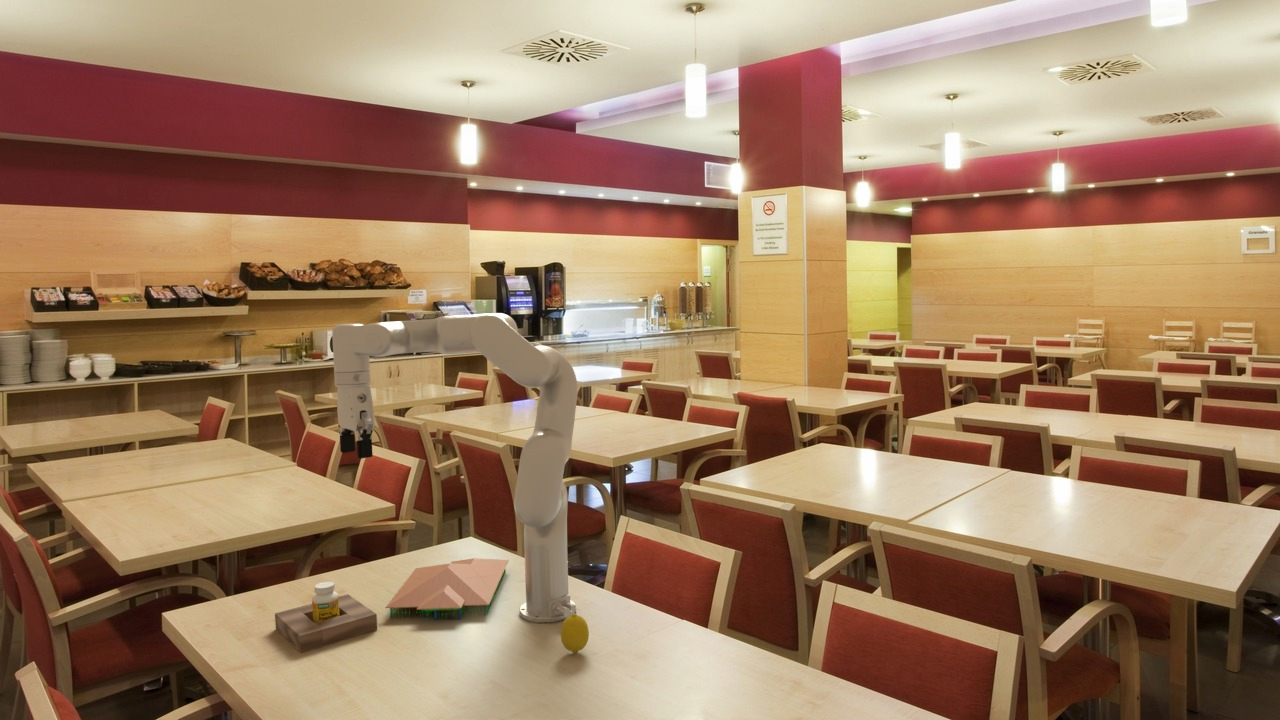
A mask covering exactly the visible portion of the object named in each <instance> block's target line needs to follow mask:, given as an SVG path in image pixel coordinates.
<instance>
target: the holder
mask: <svg viewBox="0 0 1280 720" xmlns="http://www.w3.org/2000/svg"><path fill="white" fill-rule="evenodd" d="M338 596H339V595H338ZM339 613H340V616H338V617H335V618H331V619H327V620H324V621H320V622H317V623H314V622H313V608H312V603H310V604H306V605H305V604H304V605H302V606H299V607H295V608H290V609H286V610H283V611H279V612H276V613H275V612H274V621H275V622H274V623H275V630H276V629H277V630H278V631H279V632H280V633H281V634H280V633H279V632H278V631H277V630H276V631H277V632H278V633H279V634H280V635H281V636H283V638H285V640H287V641H288V642H289V643H290V642H291V643H292V644H291V643H290V644H291V645H292V646H293V645H294V646H295V647H296V648H297V649H296V648H295V647H294V646H293V647H294V648H295V649H296V650H298V652H300V653H305V652H308V651H311V650H314V648H315V649H318V648H321V647H325V646H329V645H331V644H334V643H338V642H340V641H343V640H344V641H345V640H348V639H350V638H351V639H352V638H354V637H358V636H362V635H365V634H367V633H371V632H374V631H377V630H378V618H377V617H378V616H377V613H376V612H374V611H373V610H371V608H368V607H367V606H365V605H364V604H363V603H361V602H360V601H358V600H357V599H356V598H354V596H353V597H352V596H351V595H350V594H349V593H348V594H344V595H340V596H339ZM324 645H325V646H324ZM317 647H318V648H317ZM304 651H305V652H304Z"/></svg>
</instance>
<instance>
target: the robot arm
mask: <svg viewBox="0 0 1280 720" xmlns="http://www.w3.org/2000/svg"><path fill="white" fill-rule="evenodd" d="M331 335H332V336H331V337H332V352H333V353H332V354H333V356H332V357H333V358H332V359H333V373H334V387H336V388H337V392H336V393H337V398H336V400H337V402H336V404H337V405H336V408H337V421H338V424H337V425H338V428H339V430H338V433H339V434H338V435H339V449H340V453H344V454H345V453H351V452H355V451H356V456H357V459H360V460H361V459H367V458H372V457H373V432H374V431H373V429H374V428H375V423H376V422H375V414H374V412H375V411H374V403H373V395H372V391H371V387H370V385H371V365H370V363H371V362H370V357H377V358H382V357H388V356H392V355H398V354H410V353H411V354H412V353H439V354H442V355H461V354H478V353H480V354H481V355H482V356H483V357H485V359H487V360H488V361H489V362H490V363H492V364H493V365H494V366H495V367H496V368H498V369H499V370H500V371H501V372H503V373H504V374H505V375H507V376H508V377H509V378H511V380H513V381H514V383H515V382H516V384H518V385H520V386H522V387H525V388H529V389H537V388H539V397H538V401H537V407H536V415H535V422H534V427H533V428H534V429H533V431H532V435H531V436H530V437H529V438H528V439H527V440H526V441H525V443H524V445H523V446H522V449H521V452H520V456H519V457H520V458H519V462H518V463H519V464H518V471H517V478H516V479H517V480H516V485H515V492H514V499H513V500H514V501H513V505H514V512H515V514H516V516H517V518H518V520H519V521H520V522H521V523H522V524H524V525H523V542H524V544H523V545H524V547H523V548H524V571H525V573H524V576H525V602H524V603H523V604H521V606H520V607H519V616H520V618H522V619H524V620H526V621H528V622H532V623H540V622H547V623H553V622H559V621H564V620H565V619H566V618H567V617H569V616H571V615H572V614H576V611H577V605H576V602H574V601H573V600H571V594H569V569H568V567H569V565H568V562H569V561H568V519H567V518H568V502H569V501H568V500H569V499H568V491H567V490H568V489H567V486H566V483H565V482H564V481H563V478H564V474H565V473H564V472H565V466H566V463H567V462H568V461H569V460H570V457H571V454H572V443H573V436H574V435H573V434H574V429H575V427H574V426H575V421H576V420H575V419H576V412H577V411H576V410H577V401H578V381H577V380H578V379H577V375H576V372H575V370H574V368H573V366H572V364H571V363H570V360H568V359H567V358H566V356H564V355H563V353H561V352H560V351H558V350H556V349H555V348H553V347H550V346H549V345H543V344H542V345H534V344H532V343H531V342H530V341H529V340H527V339H526V338H525V337H523V336H522V335H521V334H520V333H519V329H518V325H517V322H516V321H515V320H514V318H512V317H511V316H510V315H508V314H505V313H503V312H494V313H493V312H491V313H489V312H488V313H475V314H458V315H444V316H438V317H436V318H429V319H416V320H415V319H414V320H398V321H396V320H395V321H383V322H374V323H368V324H363V323H342V324H341V323H340V324H339V323H338V324H336V325H334V326H333V327H332V334H331ZM354 432H355V433H354ZM355 435H356V436H357V439H358V440H356V441H355ZM355 442H356V443H355Z"/></svg>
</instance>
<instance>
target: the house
mask: <svg viewBox="0 0 1280 720" xmlns="http://www.w3.org/2000/svg"><path fill="white" fill-rule="evenodd" d="M508 563H509V559H492V558H479V557H478V558H475V557H474V558H467V559H460V560H454V561H451V562H450V563H445V564H444V563H443V564H437V565H431V566H422V567H416V568H415V569H414V570H413V571H412V572H411V574H410V575H409V577H408V578H407V579H406V580H405V582H404V583H402V585H401V587H400V588H399V590H398V591H397V592H396V593H395V594H394V596H393V597H392V598H391V600H389V602H388V604H387V605H386V606H385V609H389V611H390V619H391V618H392V619H393V617H394V615H395V614H397V615H398V617H400V613H401V614H404V613H405V614H407V608H408V609H409V611H408V614H409V616H408V617H409V618H411V611H410V610H411V609H410V608H415V610H416V611H415V613H418V610H419V614H420V616H419V618H420V617H421V616H422V615H421V613H422V612H424V617H425V618H428V616H430V615H431V614H432V612H433V616H434V621H437V618H438V616H440V615H441V616H444V612H443V611H452V612H453V613H452V615H453V616H455V619H456V620H461V617H462V616H463V614H464V613H465V612H466V611H467V612H468V613H467V614H468V616H469V615H470V614H469V613H470V612H469V611H471V612H473V611H474V612H477V607H481V606H484V608H485V609H484V611H485V614H488V612H489V611H490V607H491V605H492V603H493V601H494V599H495V597H496V594H497V592H498V590H499V587H500V586H499V585H501V582H502V581H503V578H504V576H505V574H506V567H507V565H508ZM466 607H467V609H468V610H466ZM470 607H475V609H469V608H470ZM403 608H405V612H404V611H399V609H403ZM397 611H398V612H397ZM438 611H441V612H442V613H438ZM455 611H458V619H457V615H455ZM478 611H479V612H478V614H479V617H480V615H481V614H480V611H481V609H478ZM462 613H463V614H462ZM447 615H448V614H445V618H446V619H445V620H447V618H448V617H447ZM403 617H404V616H403V615H402V616H401V618H402V619H403ZM421 618H422V617H421Z"/></svg>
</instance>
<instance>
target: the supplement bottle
mask: <svg viewBox="0 0 1280 720" xmlns="http://www.w3.org/2000/svg"><path fill="white" fill-rule="evenodd" d="M335 589H336V587H335V582H332V581H324V582H319V583H317V584H314V595H313V596H312V598H311V604H312V608H313V622H314V623H317V622H320V621H324V620H327V619H331V618H335V617H338V616H340V613H339V593H338V592H336V591H335Z"/></svg>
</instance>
